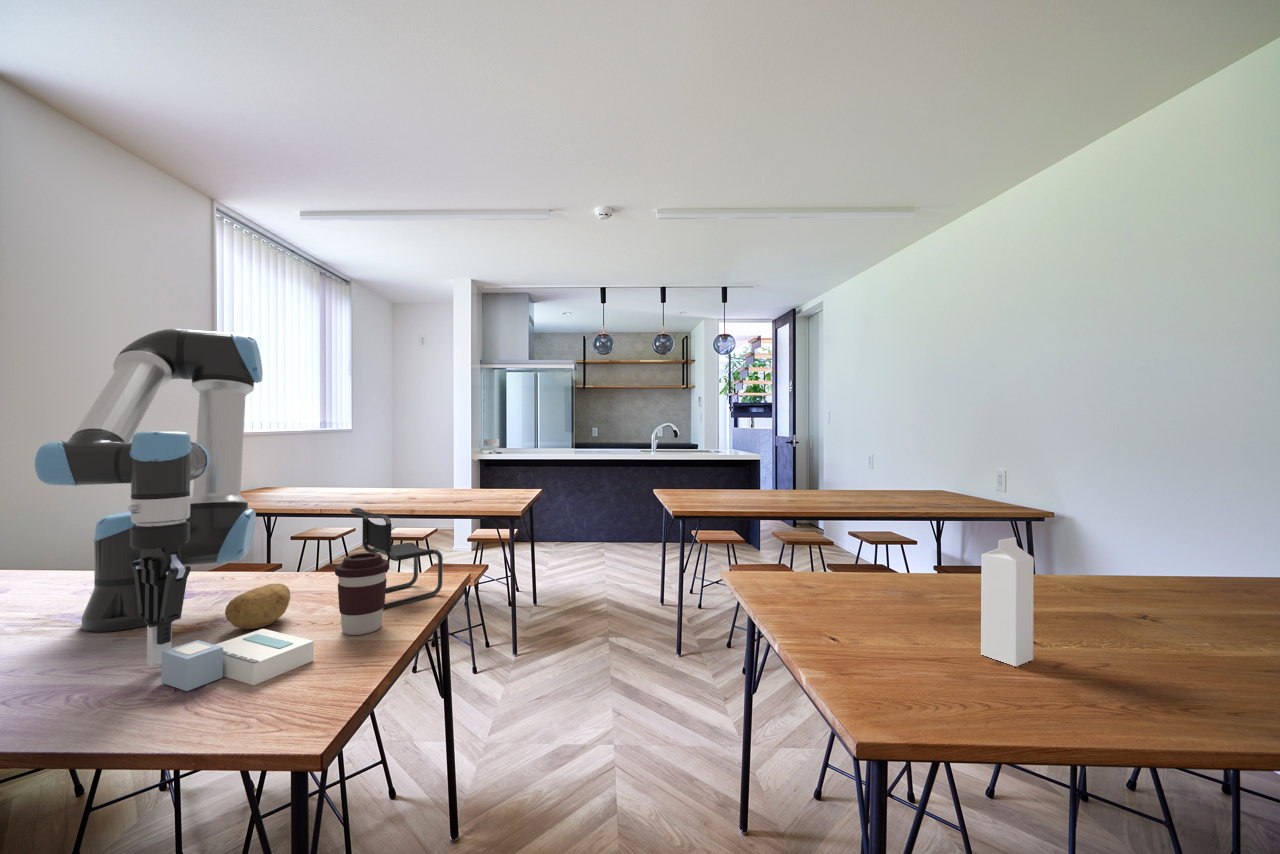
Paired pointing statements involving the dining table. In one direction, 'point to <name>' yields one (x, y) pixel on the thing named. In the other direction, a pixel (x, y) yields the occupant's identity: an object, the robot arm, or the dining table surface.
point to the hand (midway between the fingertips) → (159, 661)
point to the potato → (258, 606)
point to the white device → (264, 655)
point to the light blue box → (192, 665)
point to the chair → (395, 552)
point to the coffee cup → (361, 592)
